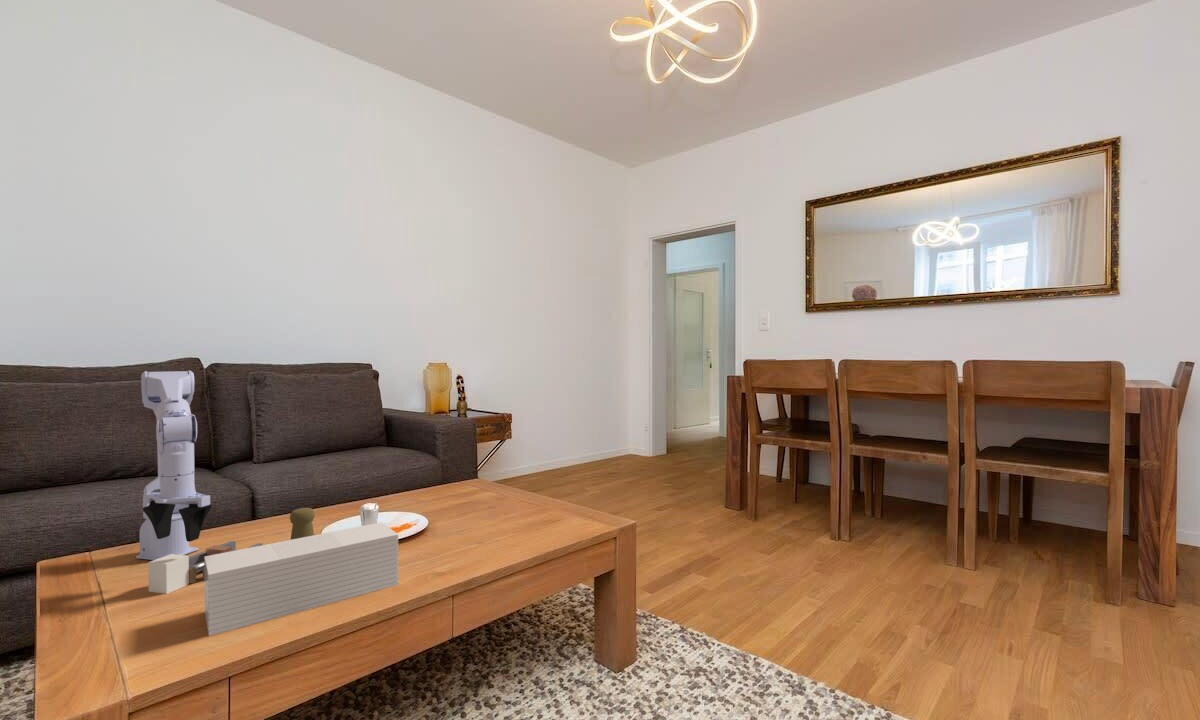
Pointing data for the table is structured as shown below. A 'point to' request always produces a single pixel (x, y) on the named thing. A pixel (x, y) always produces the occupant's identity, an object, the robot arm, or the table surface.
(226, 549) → the ram
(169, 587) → the block
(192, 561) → the track
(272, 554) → the stack of papers
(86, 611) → the table surface
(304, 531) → the cork
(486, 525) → the table surface
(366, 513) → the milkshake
